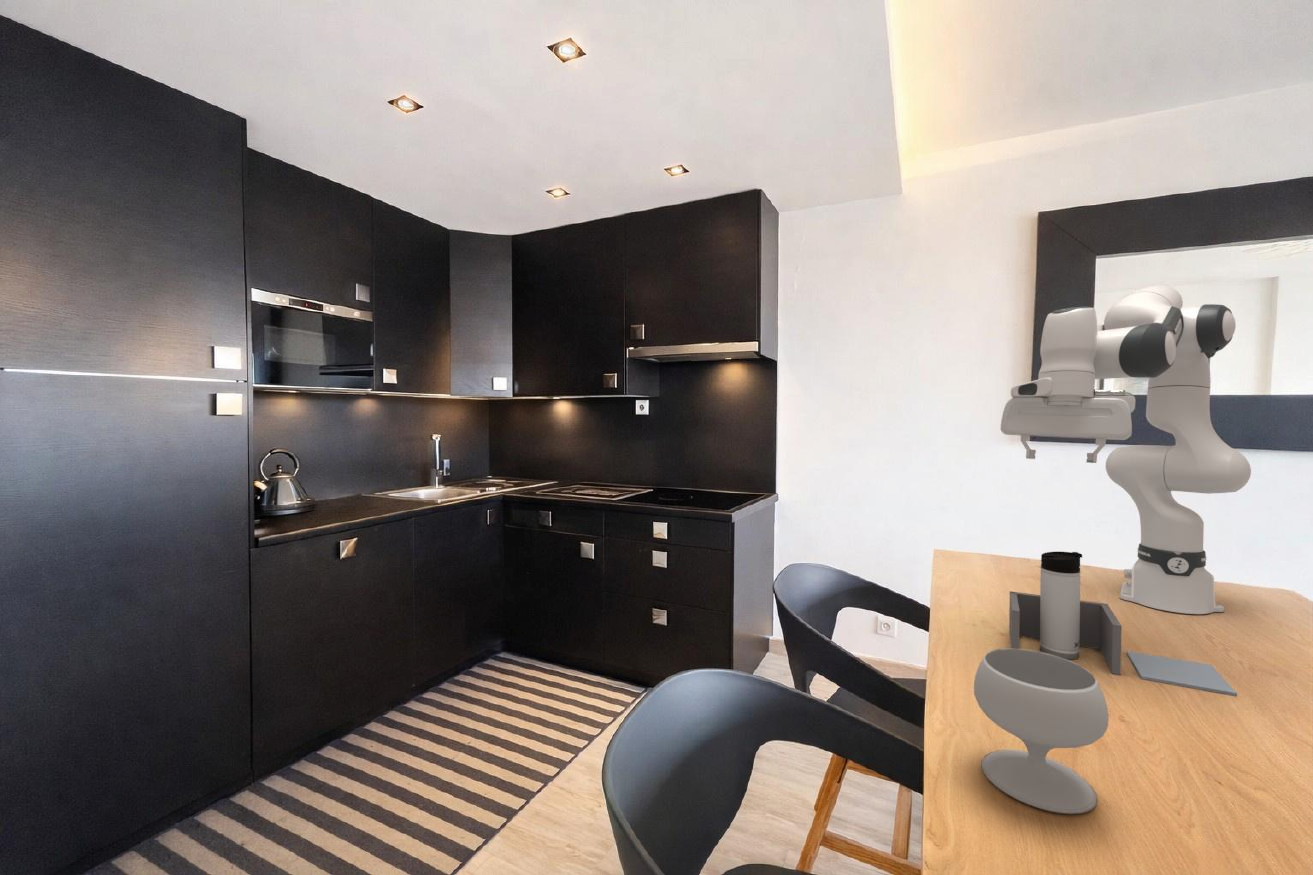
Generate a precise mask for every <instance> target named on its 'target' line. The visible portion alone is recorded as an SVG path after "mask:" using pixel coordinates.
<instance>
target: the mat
mask: <svg viewBox="0 0 1313 875" xmlns="http://www.w3.org/2000/svg"><path fill="white" fill-rule="evenodd" d="M1126 655H1127V657H1128V659H1129V661H1130V662H1131V664H1132V665H1133V667H1134V669H1135V671H1136V672H1137V674H1138V676H1139V678H1140V679H1141V680H1146V681H1150V682H1156V683H1161V684H1162V683H1163V684H1166V685H1172V684H1174V685H1173V686H1179V687H1182V688H1183V687H1184V688H1190V689H1196V690H1199V691H1200V690H1201V691H1207V692H1212V693H1217V694H1224V695H1228V696H1233V697H1238V693H1237V691H1236V690H1235V689H1234V688H1233V687H1232V686H1231V685H1230V684H1229V683H1228V681H1226V679H1225V678H1224V677H1223V676H1222V675H1221V674H1220V673H1219V672H1218V670H1217V669H1216V668H1215V667H1214V666H1213V665H1212V664H1209V663H1204V662H1197V661H1191V660H1185V659H1179V658H1172V657H1166V656H1161V655H1160V656H1159V655H1155V654H1148V653H1143V652H1135V651H1130V650H1126Z"/></svg>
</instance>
